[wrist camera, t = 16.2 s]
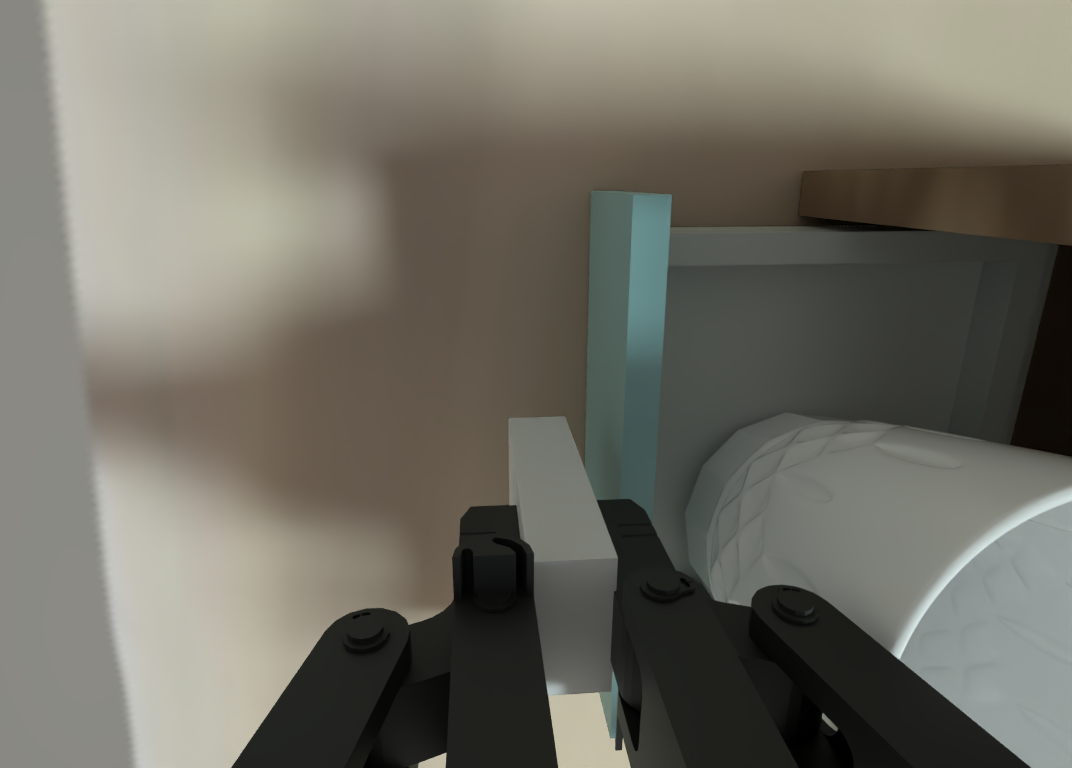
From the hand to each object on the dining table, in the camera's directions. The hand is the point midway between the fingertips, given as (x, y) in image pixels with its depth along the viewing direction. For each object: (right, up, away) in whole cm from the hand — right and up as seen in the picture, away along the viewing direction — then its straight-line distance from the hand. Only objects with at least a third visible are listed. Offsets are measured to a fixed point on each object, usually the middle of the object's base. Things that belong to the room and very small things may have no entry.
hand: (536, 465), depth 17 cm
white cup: (+8, -2, +3) cm, 8 cm away
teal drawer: (+8, +1, +3) cm, 9 cm away
